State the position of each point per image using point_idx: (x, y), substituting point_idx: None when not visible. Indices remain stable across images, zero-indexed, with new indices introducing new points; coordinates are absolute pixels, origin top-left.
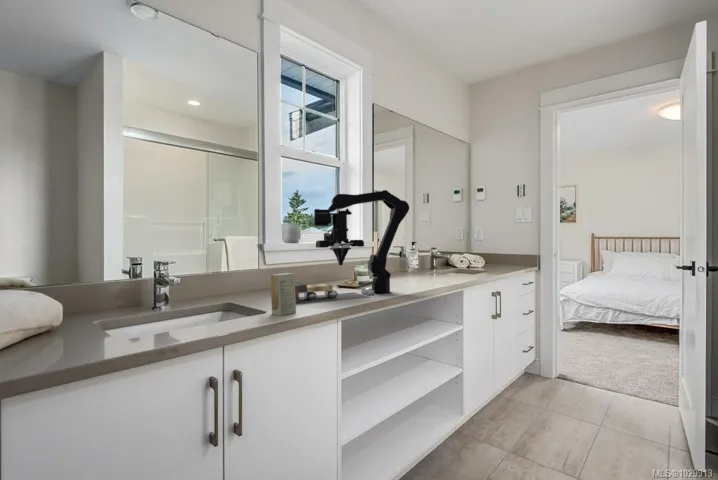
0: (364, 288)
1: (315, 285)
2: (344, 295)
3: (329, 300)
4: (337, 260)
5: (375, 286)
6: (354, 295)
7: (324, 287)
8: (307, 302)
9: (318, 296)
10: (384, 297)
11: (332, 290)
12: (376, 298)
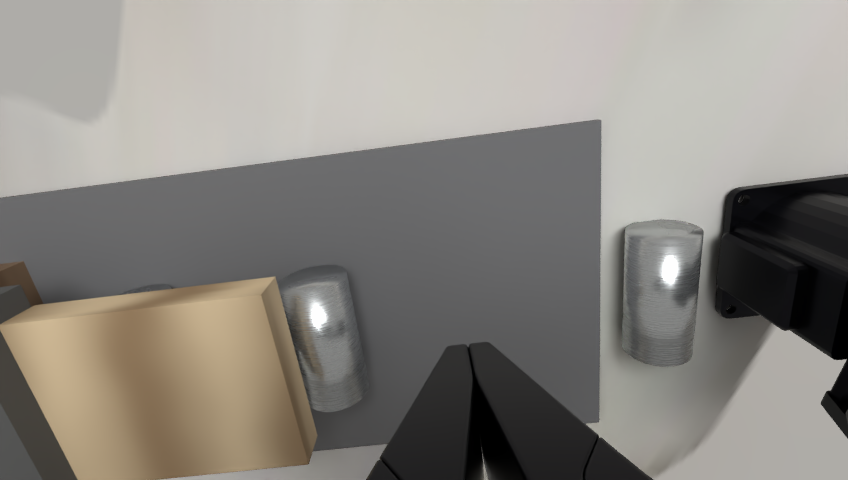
0: (656, 282)
1: (157, 380)
2: (454, 270)
3: None
4: (413, 404)
5: (762, 313)
6: (527, 301)
7: (240, 465)
8: None
9: (240, 233)
10: (694, 409)
11: (323, 403)
12: (626, 423)
